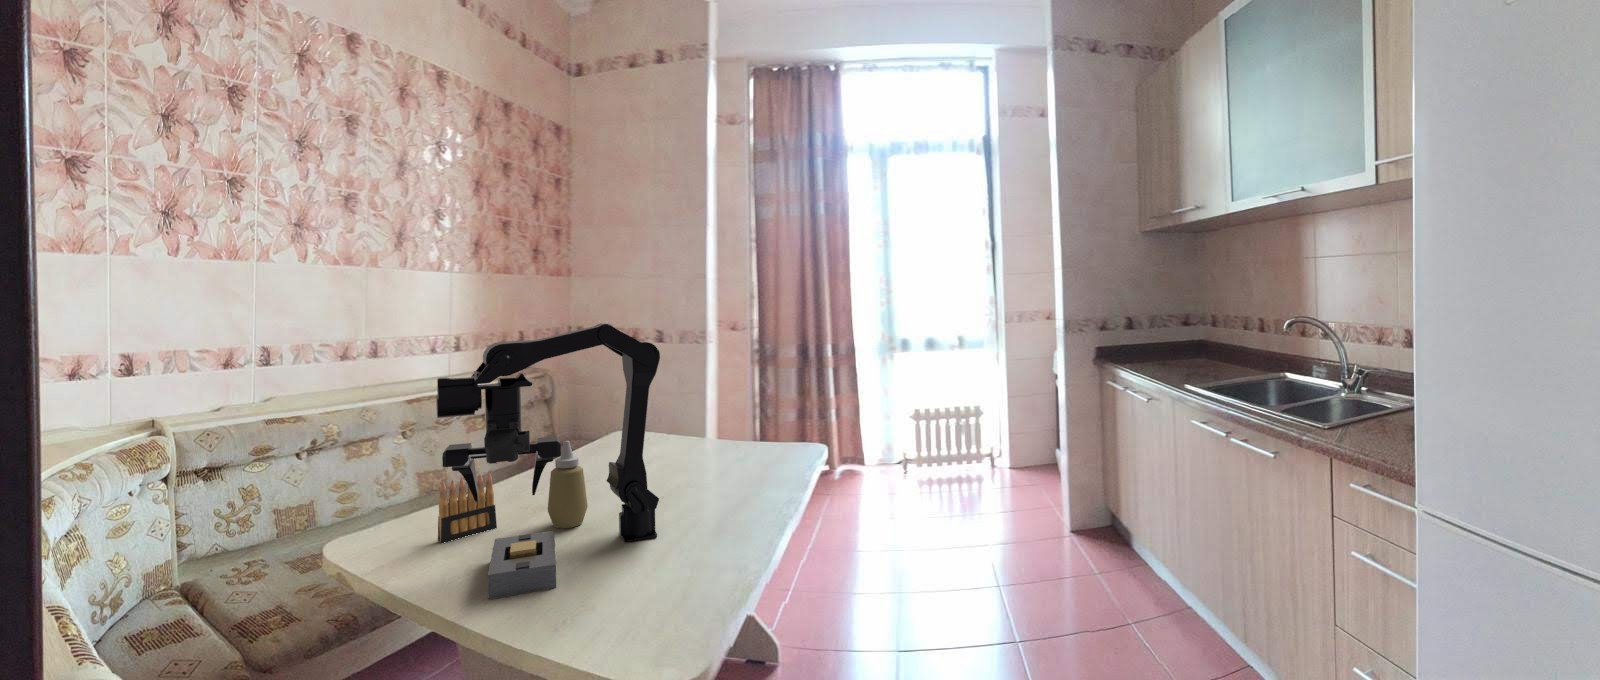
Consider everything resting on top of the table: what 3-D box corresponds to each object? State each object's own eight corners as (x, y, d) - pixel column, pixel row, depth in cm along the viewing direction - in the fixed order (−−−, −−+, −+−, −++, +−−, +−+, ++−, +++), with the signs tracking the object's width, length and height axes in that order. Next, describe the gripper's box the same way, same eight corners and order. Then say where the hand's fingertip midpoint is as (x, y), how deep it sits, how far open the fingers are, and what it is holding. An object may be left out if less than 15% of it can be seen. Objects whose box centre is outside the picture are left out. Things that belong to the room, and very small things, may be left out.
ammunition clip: (441, 543, 116) (439, 483, 116) (437, 541, 118) (435, 482, 117) (497, 528, 125) (495, 472, 124) (493, 526, 126) (491, 470, 125)
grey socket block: (554, 551, 113) (553, 529, 113) (556, 587, 98) (555, 563, 98) (495, 560, 109) (494, 537, 109) (488, 599, 94) (487, 573, 94)
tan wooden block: (536, 567, 106) (536, 540, 106) (536, 576, 103) (535, 548, 102) (512, 571, 105) (511, 543, 104) (510, 580, 101) (510, 552, 101)
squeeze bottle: (596, 522, 128) (594, 440, 127) (563, 534, 121) (561, 447, 120) (572, 515, 133) (570, 435, 132) (539, 526, 126) (537, 442, 125)
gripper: (435, 424, 95) (439, 520, 96) (561, 416, 103) (562, 504, 104) (445, 413, 105) (448, 499, 106) (558, 406, 113) (560, 487, 114)
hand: (505, 497), depth 107 cm, fingers open, 9 cm apart
